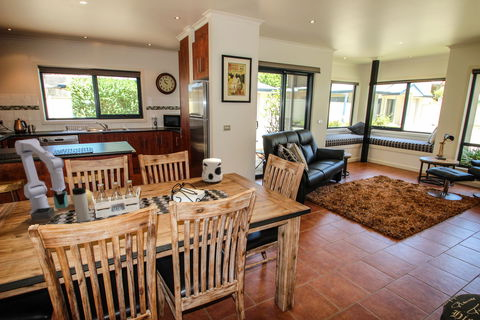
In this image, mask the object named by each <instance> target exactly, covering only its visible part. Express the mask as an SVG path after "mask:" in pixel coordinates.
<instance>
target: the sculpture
mask: <svg viewBox="0 0 480 320" xmlns="http://www.w3.org/2000/svg"><path fill="white" fill-rule="evenodd" d="M85 189H86V195H87V202H88V205H90V204H92V202H93V200H92V196H93V197H94V195H93V193H92V191H90V189H87V188H85ZM70 201H71V202H72V203H73V205H74V199H73V193H71V195H70Z"/></svg>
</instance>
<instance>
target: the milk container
mask: <svg viewBox="0 0 480 320" xmlns="http://www.w3.org/2000/svg"><path fill="white" fill-rule="evenodd" d="M223 177H224V176H223V171H222V160H221V159H220V158H212V157H211V158H204V159H203V160H202V173H201V178H202V181H203V182H206V183H210V184H211V183H212V184H213V183H218V182H221V181H222V180H223Z"/></svg>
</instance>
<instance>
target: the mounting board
mask: <svg viewBox="0 0 480 320" xmlns="http://www.w3.org/2000/svg"><path fill="white" fill-rule="evenodd" d="M59 210H60V209H59ZM59 210H58V209H57V210H55V211H56V213H55V214H54V215H53V216H52V217H51V218H50V219H42V220H33V221H29V220H28V221H26V225H34V224H42V223H48V222H47V221H51V220H52V221H53V220H54V219H55V217H56V216H57V215H58V214H59ZM52 221H51V222H52Z"/></svg>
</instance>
